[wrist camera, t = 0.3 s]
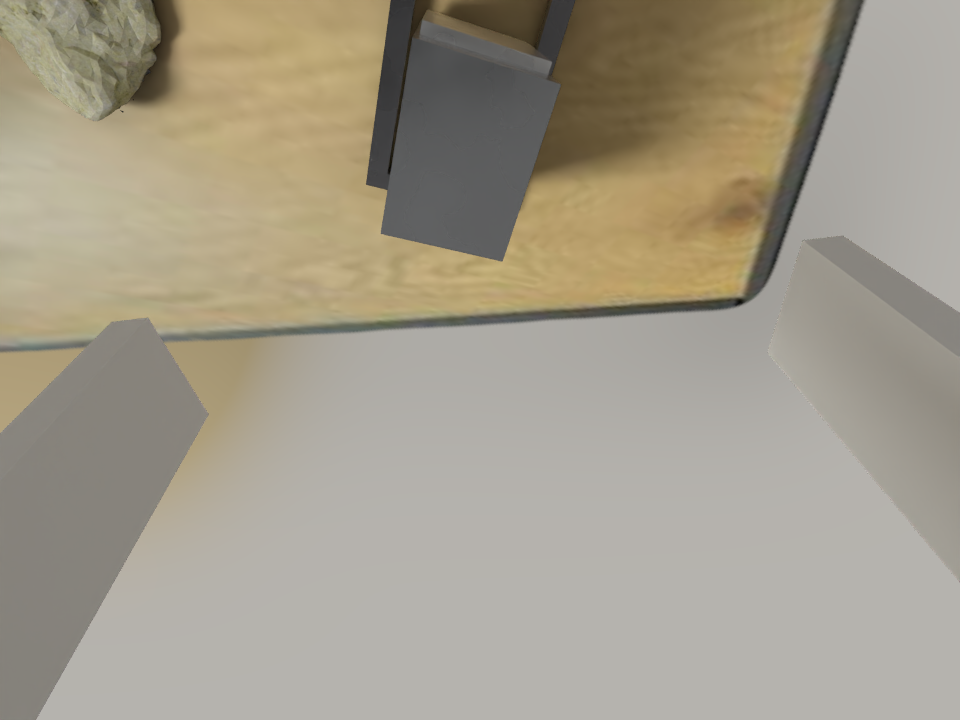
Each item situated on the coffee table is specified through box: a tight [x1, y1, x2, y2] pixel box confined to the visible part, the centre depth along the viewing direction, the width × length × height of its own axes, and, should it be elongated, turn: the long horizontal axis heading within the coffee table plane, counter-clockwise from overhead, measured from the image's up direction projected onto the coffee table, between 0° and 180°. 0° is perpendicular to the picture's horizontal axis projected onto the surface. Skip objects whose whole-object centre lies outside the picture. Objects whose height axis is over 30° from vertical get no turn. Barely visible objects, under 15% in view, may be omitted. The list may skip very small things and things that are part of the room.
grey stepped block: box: [381, 9, 561, 261], centre depth 25 cm, size 6×8×11 cm
